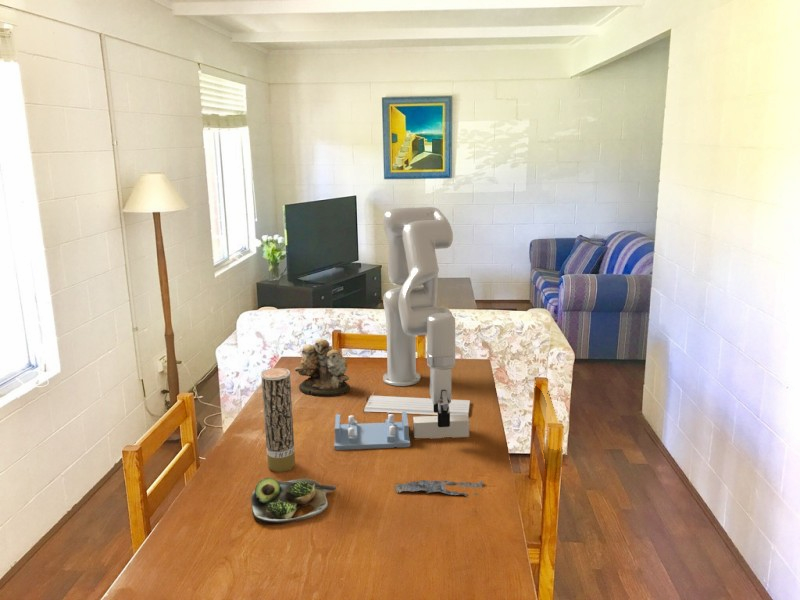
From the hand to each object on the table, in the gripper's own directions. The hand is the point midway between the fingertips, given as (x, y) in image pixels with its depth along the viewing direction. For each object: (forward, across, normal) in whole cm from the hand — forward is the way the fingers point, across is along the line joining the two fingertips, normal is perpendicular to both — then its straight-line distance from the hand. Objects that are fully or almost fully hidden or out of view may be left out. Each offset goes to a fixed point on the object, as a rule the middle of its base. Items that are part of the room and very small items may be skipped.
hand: (441, 419), depth 179 cm
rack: (+5, -1, -19) cm, 20 cm away
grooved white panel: (+5, -19, -5) cm, 20 cm away
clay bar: (+5, -1, 0) cm, 5 cm away
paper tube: (+5, +13, -42) cm, 44 cm away
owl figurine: (+4, -37, -34) cm, 50 cm away
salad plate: (+6, +30, -39) cm, 50 cm away
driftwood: (+6, +27, -4) cm, 28 cm away
